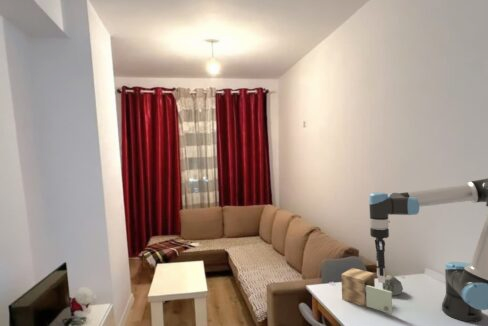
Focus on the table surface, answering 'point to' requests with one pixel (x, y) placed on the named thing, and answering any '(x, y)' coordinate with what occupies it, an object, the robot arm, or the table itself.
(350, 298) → the cabinet
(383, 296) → the door
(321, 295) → the table surface
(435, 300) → the table surface
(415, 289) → the table surface
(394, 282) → the stone
